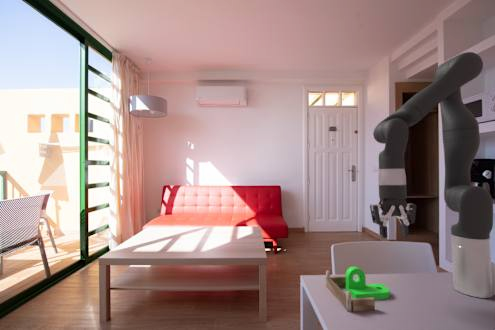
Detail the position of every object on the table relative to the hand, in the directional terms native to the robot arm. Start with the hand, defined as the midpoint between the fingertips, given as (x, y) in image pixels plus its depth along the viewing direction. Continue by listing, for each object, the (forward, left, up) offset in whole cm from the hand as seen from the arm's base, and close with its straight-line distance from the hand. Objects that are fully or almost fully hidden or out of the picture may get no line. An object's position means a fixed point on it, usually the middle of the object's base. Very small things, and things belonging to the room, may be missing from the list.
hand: (394, 237), depth 78 cm
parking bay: (+15, 0, -18) cm, 23 cm away
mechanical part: (+8, -1, -18) cm, 20 cm away
